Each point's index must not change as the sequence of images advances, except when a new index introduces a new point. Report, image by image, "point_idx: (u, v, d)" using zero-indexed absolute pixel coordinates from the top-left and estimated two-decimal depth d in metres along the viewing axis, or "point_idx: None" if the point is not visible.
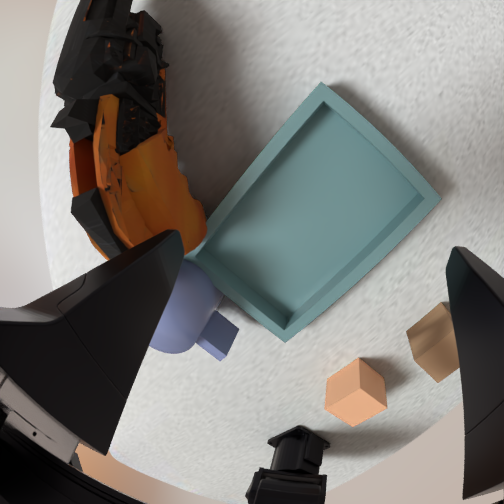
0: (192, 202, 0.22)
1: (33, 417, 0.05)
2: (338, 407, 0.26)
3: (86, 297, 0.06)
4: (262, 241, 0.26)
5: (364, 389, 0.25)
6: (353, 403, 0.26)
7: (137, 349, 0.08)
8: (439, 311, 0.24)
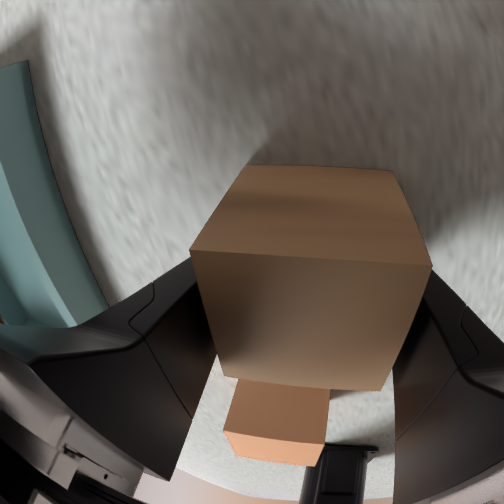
0: None
1: (101, 457, 0.04)
2: (247, 453, 0.14)
3: (165, 312, 0.06)
4: (26, 286, 0.17)
5: (239, 429, 0.12)
6: (255, 447, 0.13)
7: (205, 364, 0.08)
8: None
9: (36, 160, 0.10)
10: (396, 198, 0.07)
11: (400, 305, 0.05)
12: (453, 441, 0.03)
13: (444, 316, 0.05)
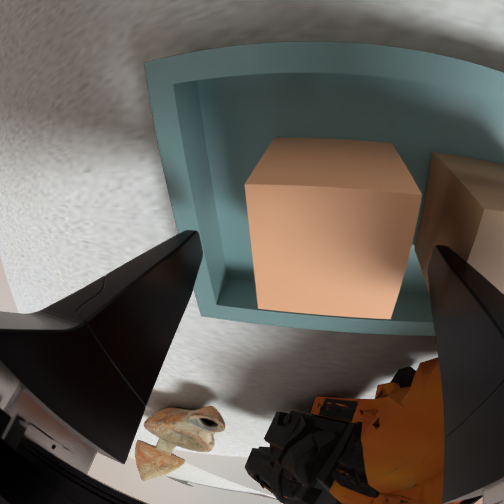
0: (440, 375, 0.12)
1: (51, 429, 0.05)
2: (280, 285, 0.09)
3: (108, 302, 0.06)
4: None
5: (272, 181, 0.08)
6: (297, 248, 0.08)
7: (157, 354, 0.08)
8: (439, 176, 0.09)
9: None
10: None
11: None
12: None
13: (500, 316, 0.05)
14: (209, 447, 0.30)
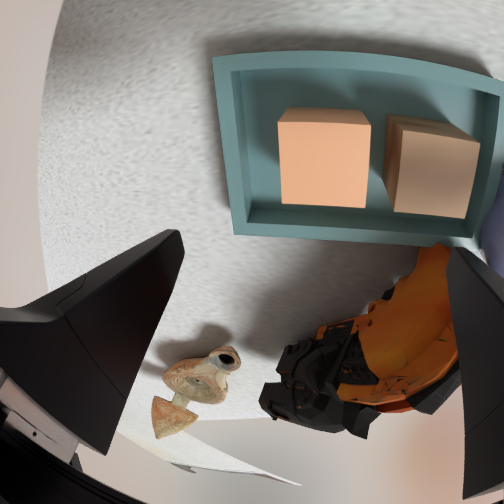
0: (414, 276, 0.18)
1: (33, 417, 0.05)
2: (296, 184, 0.16)
3: (86, 297, 0.06)
4: None
5: (292, 121, 0.14)
6: (305, 158, 0.15)
7: (137, 349, 0.08)
8: (389, 125, 0.15)
9: None
10: (458, 129, 0.14)
11: (471, 159, 0.12)
12: None
13: None
14: (223, 394, 0.36)
